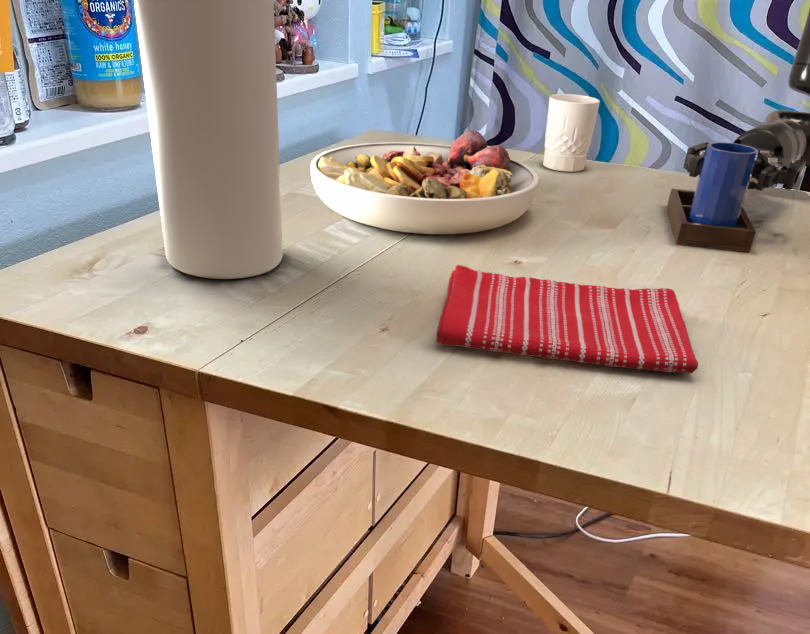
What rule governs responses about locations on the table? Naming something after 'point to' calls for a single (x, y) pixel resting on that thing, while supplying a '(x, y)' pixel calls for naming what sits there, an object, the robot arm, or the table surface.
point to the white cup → (569, 131)
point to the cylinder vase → (214, 132)
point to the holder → (707, 227)
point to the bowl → (425, 185)
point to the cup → (722, 184)
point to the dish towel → (566, 321)
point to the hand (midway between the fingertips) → (726, 174)
